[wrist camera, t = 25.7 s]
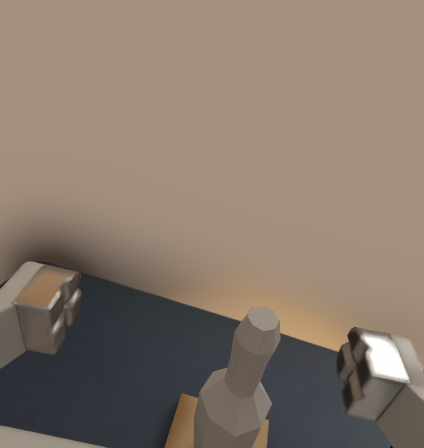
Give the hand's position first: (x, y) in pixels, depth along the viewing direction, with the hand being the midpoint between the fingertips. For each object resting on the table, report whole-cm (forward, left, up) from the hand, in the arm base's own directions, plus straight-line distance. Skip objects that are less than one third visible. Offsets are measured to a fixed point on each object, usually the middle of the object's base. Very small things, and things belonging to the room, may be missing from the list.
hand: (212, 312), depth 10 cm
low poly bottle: (+9, +8, -34) cm, 36 cm away
